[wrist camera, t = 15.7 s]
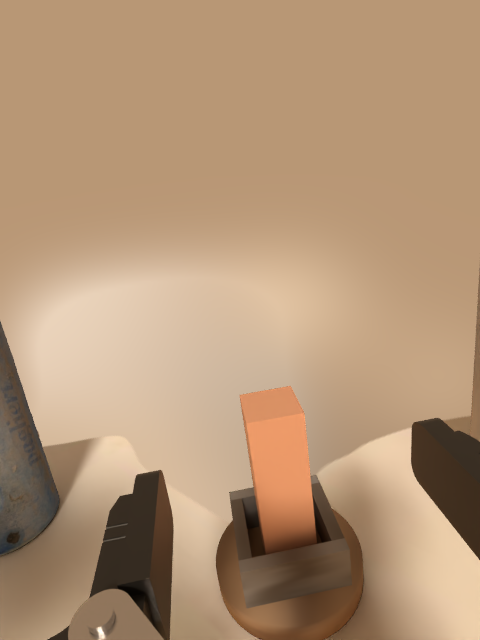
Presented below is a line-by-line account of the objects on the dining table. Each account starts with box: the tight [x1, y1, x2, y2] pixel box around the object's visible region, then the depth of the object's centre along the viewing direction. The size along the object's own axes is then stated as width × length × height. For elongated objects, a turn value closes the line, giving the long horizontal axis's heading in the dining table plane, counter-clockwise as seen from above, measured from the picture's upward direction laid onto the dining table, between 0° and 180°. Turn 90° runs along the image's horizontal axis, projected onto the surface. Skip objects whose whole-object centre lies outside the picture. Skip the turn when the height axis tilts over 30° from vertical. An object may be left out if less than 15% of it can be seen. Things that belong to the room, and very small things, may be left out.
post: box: [240, 386, 317, 555], centre depth 31 cm, size 4×4×14 cm
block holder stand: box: [216, 475, 363, 640], centre depth 33 cm, size 12×12×6 cm
